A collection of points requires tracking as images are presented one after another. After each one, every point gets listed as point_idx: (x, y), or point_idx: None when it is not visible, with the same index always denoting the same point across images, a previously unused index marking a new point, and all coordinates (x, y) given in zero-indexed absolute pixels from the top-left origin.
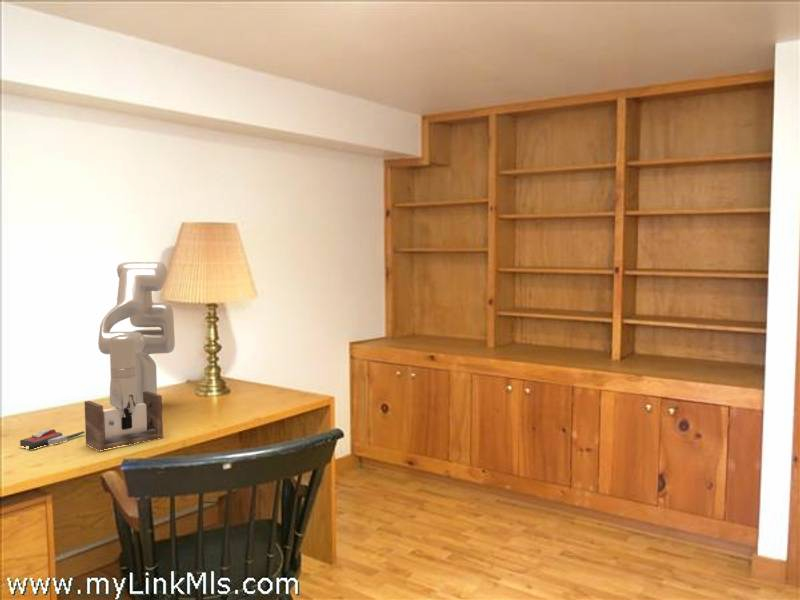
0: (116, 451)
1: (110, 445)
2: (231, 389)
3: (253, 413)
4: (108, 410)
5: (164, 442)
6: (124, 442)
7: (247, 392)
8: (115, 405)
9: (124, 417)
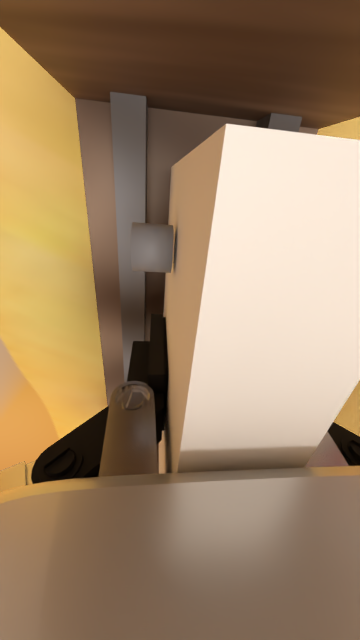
0: (25, 167)
1: (83, 159)
2: None
3: None
4: (238, 303)
5: (45, 391)
6: (93, 262)
7: None
8: (281, 515)
9: (119, 389)
